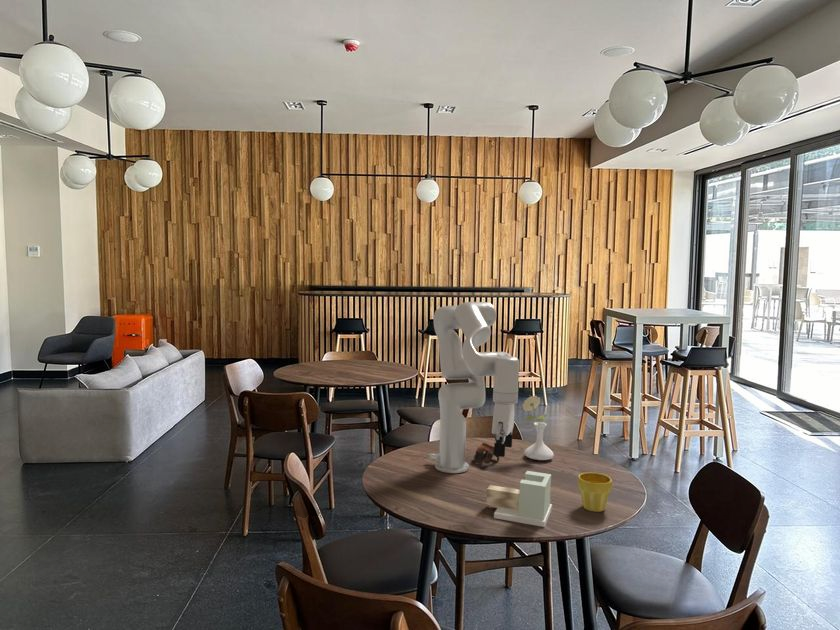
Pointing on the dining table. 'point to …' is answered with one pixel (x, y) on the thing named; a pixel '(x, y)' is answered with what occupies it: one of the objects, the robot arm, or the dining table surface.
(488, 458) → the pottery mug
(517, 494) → the rail
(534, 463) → the dining table surface
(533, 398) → the flower in vase
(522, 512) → the slotted block on base
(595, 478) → the plant pot
